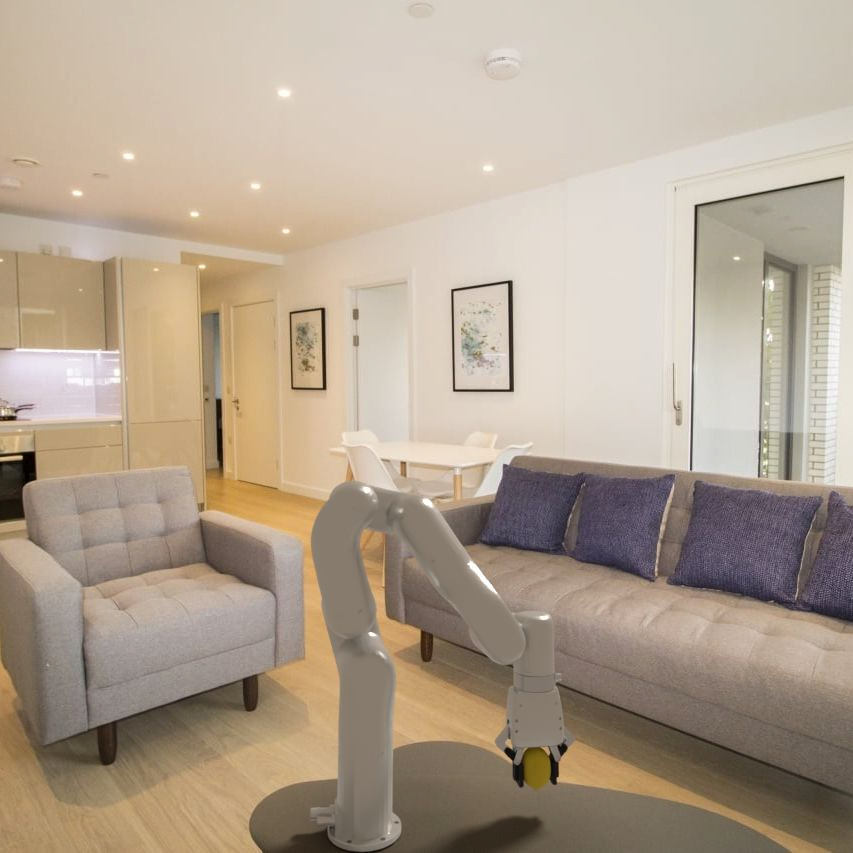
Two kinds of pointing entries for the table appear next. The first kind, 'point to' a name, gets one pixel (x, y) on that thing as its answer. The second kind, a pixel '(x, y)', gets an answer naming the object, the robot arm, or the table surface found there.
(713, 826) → the table surface
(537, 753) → the lemon
